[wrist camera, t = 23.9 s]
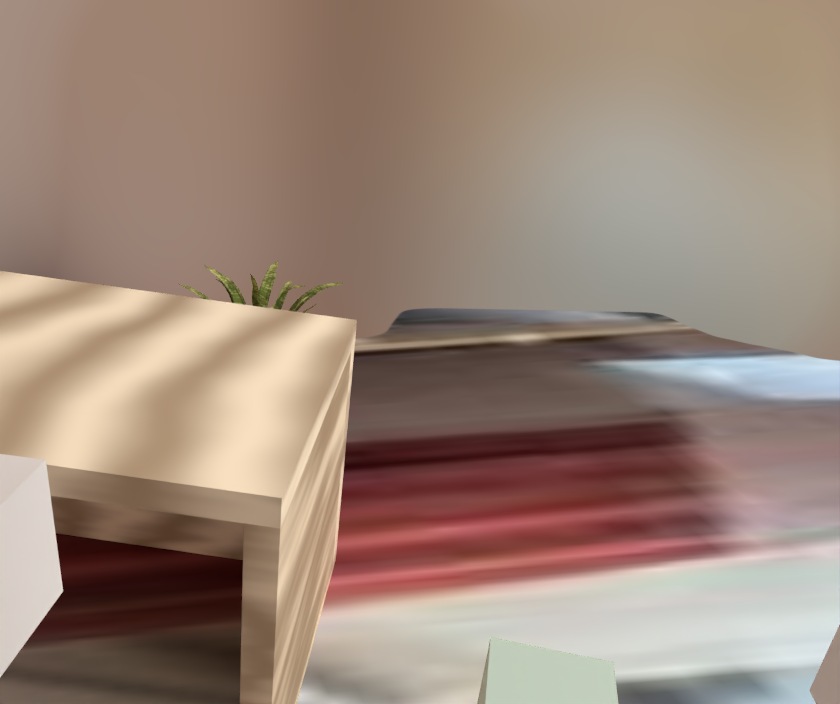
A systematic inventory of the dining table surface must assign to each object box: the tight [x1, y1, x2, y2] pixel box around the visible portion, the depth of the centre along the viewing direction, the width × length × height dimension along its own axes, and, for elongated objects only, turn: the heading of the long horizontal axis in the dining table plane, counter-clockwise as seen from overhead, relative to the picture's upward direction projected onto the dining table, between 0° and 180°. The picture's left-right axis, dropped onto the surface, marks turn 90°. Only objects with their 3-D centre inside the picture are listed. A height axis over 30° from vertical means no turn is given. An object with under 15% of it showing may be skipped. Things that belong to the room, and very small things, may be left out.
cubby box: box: [0, 271, 357, 704], centre depth 42 cm, size 24×20×20 cm
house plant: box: [182, 262, 342, 313], centre depth 67 cm, size 14×14×16 cm
